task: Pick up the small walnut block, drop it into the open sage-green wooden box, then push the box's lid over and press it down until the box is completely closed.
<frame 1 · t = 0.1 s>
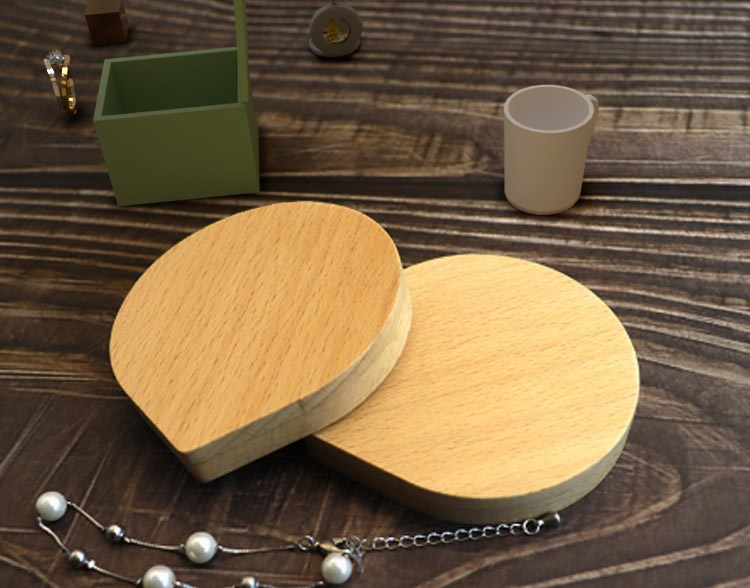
pocket watch: (335, 53, 132), on the table
mug: (549, 190, 109), on the table
ring: (73, 115, 125), on the table
chest: (190, 166, 116), on the table
block: (111, 36, 138), on the table
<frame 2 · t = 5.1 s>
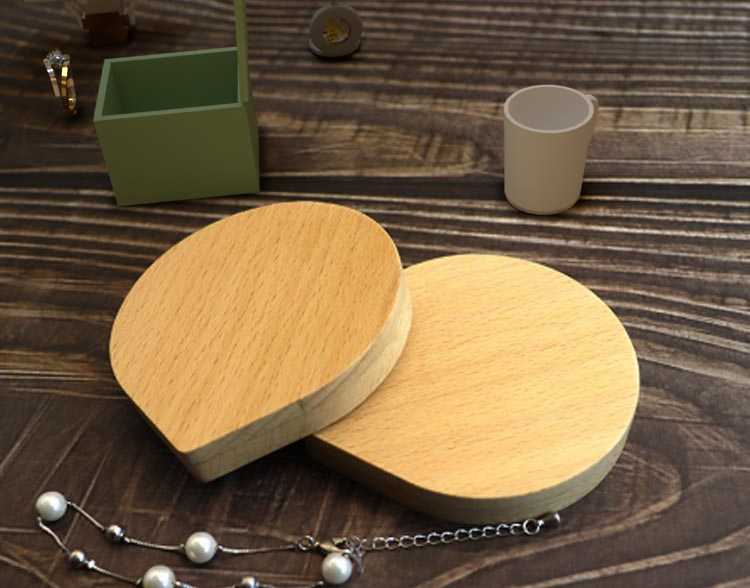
hand: (108, 25, 137), 2 cm above the table, tool pointing down, fingers closed on block, 4 cm apart
block: (111, 36, 138), on the table, touching gripper
everything else where it was.
when the fingers open (12 cm above the table, at t = 13.6 s): block drops 10 cm, resting on chest.
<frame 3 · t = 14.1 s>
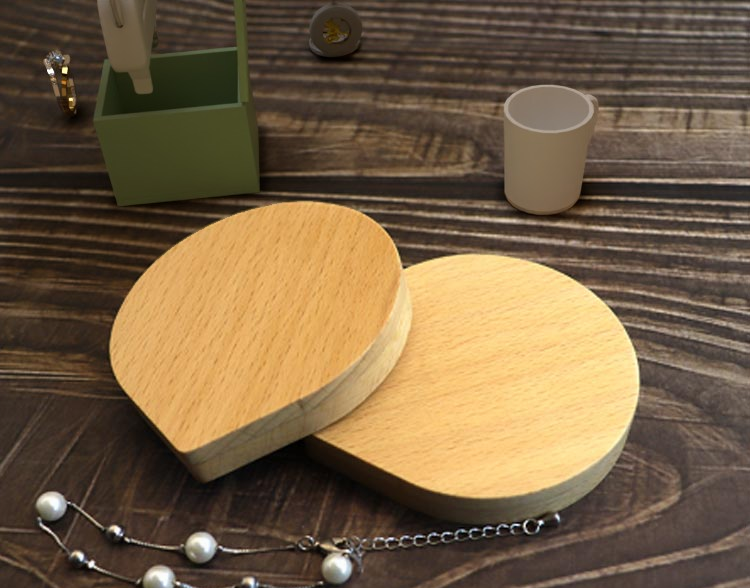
hand: (148, 66, 107), 13 cm above the table, tool pointing down, fingers open, 8 cm apart
block: (171, 162, 115), point 1 cm above the table, touching chest
everything else where it was.
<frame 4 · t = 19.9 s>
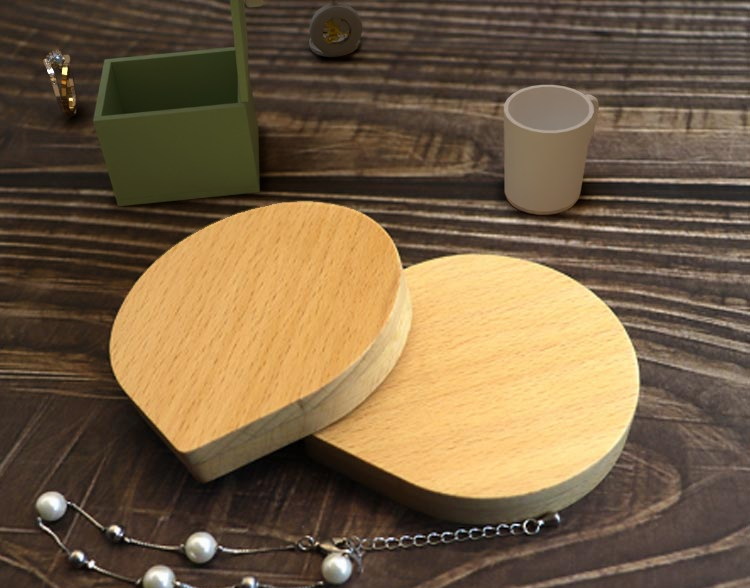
hand: (254, 0, 102), 19 cm above the table, tool pointing down, fingers closed, pressing on lid
everything else where it was.
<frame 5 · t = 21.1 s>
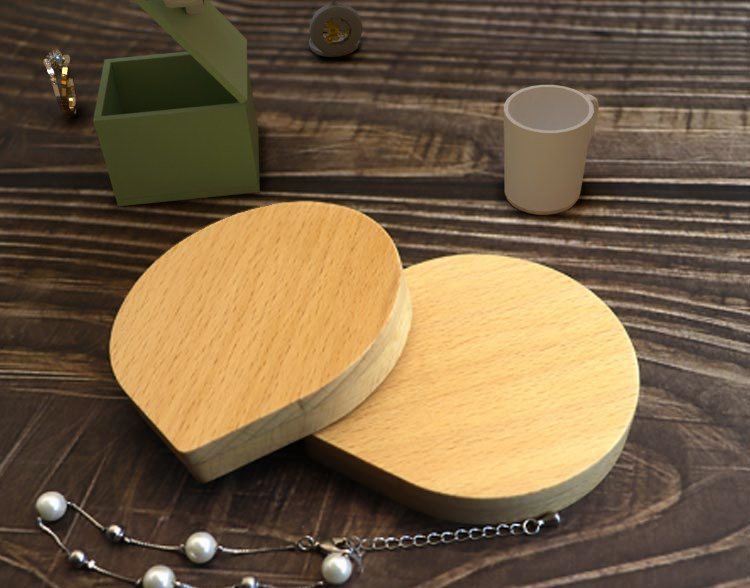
hand: (196, 8, 102), 19 cm above the table, tool pointing down, fingers closed, pressing on lid
lid: (188, 14, 103), point 18 cm above the table, hinge at 54.9°, touching gripper
everything else where it was.
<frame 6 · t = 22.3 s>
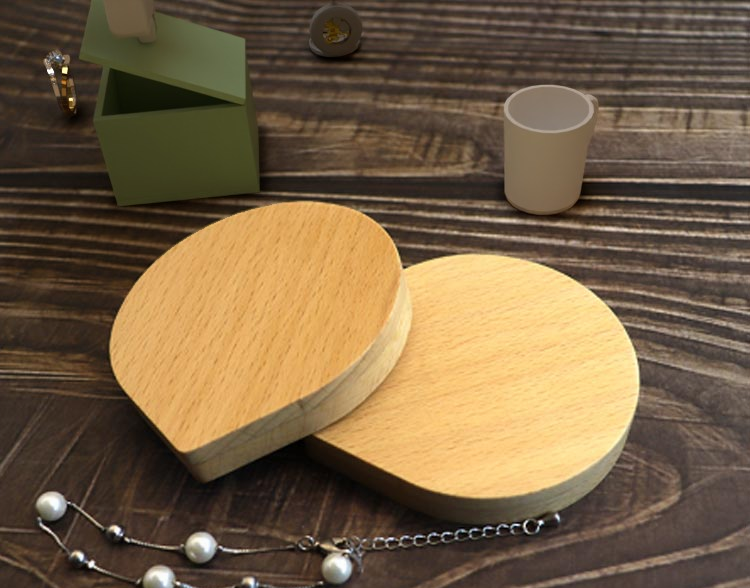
hand: (149, 35, 104), 16 cm above the table, tool pointing down, fingers closed
lid: (167, 48, 105), point 15 cm above the table, hinge at 24.1°, touching gripper
everything else where it was.
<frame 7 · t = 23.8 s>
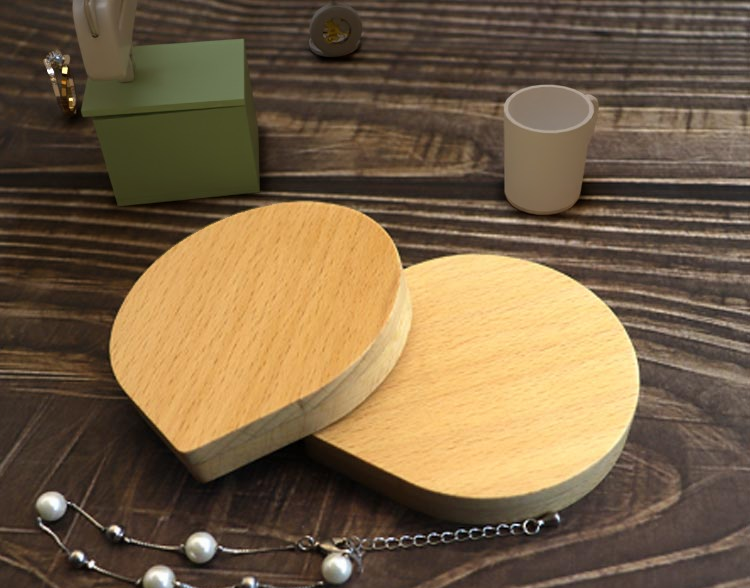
hand: (127, 75, 107), 12 cm above the table, tool pointing down, fingers closed, pressing on lid
lid: (166, 76, 108), point 11 cm above the table, hinge at 1.6°, touching gripper
everything else where it was.
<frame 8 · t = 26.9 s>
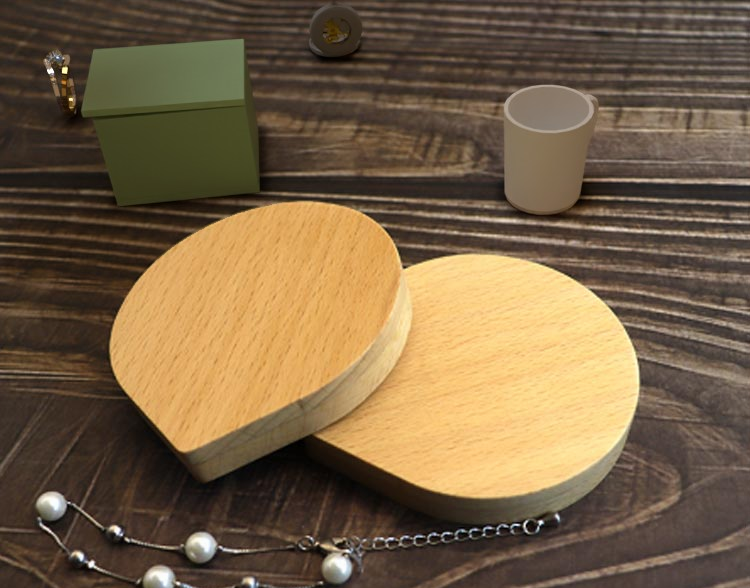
lid: (166, 76, 108), point 11 cm above the table, hinge at 1.5°
everything else where it was.
at the end: block inside the target area in the chest (2.0 cm from its centre), point 0.8 cm above the chest's base; lid at +2° (first picture: +95°) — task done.
